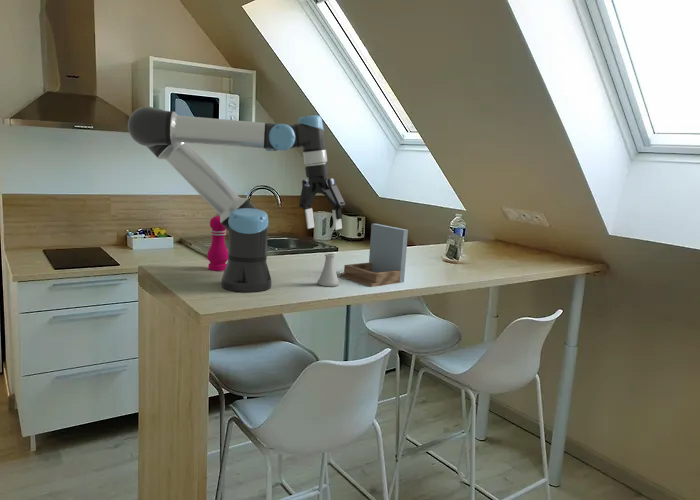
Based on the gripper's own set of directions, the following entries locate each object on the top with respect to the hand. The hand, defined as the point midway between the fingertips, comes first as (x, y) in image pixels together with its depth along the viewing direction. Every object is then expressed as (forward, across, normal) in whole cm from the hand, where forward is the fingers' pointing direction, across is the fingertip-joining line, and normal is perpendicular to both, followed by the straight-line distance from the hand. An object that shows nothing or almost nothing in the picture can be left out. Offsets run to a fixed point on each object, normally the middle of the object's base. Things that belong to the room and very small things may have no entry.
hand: (324, 228), depth 193 cm
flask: (+17, -5, +6) cm, 19 cm away
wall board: (+21, -8, -19) cm, 29 cm away
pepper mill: (+11, +31, +24) cm, 41 cm away
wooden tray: (+20, -7, -12) cm, 24 cm away
